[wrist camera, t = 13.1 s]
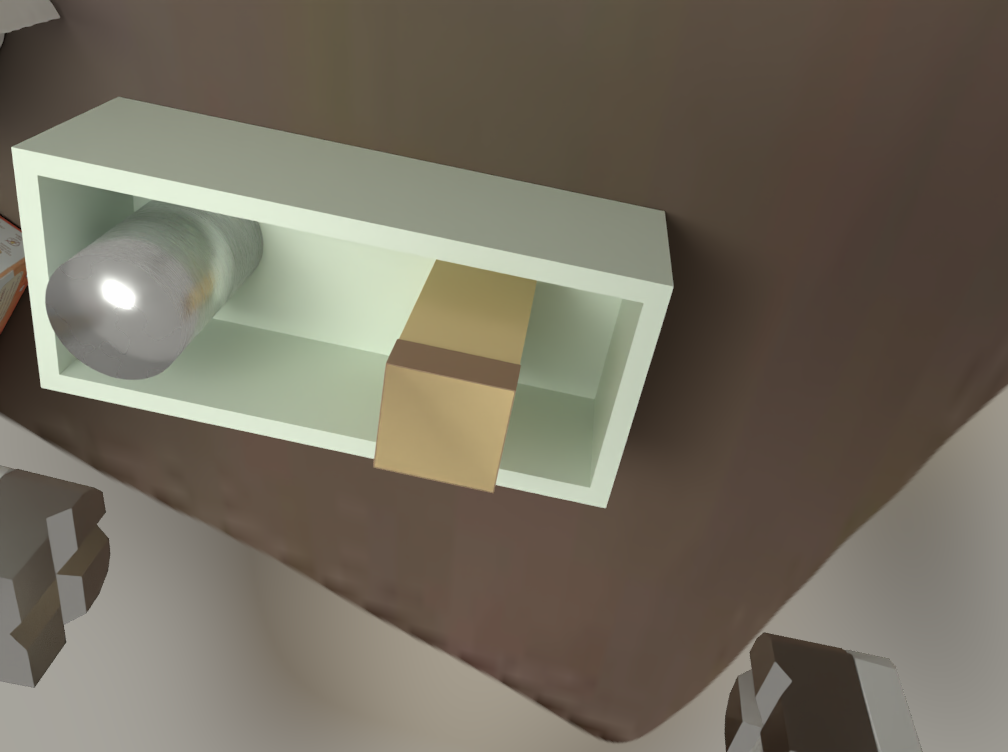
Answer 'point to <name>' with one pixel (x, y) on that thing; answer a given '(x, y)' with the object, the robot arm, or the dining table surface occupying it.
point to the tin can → (150, 286)
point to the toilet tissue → (24, 14)
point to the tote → (355, 283)
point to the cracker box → (11, 269)
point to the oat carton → (455, 377)
